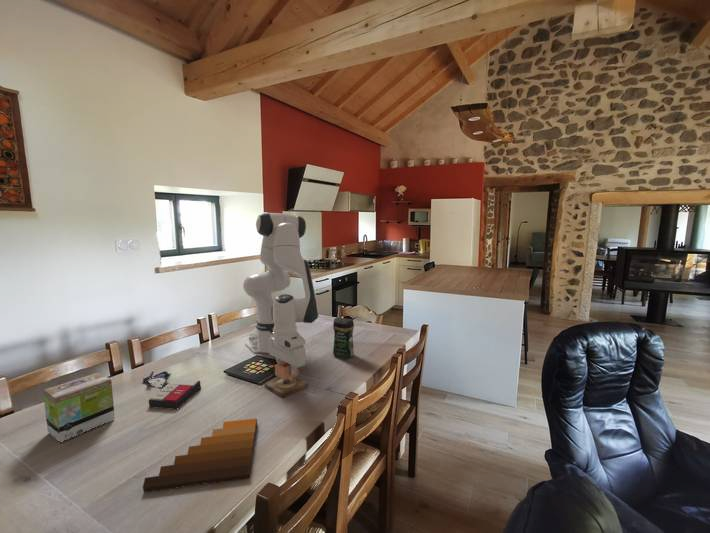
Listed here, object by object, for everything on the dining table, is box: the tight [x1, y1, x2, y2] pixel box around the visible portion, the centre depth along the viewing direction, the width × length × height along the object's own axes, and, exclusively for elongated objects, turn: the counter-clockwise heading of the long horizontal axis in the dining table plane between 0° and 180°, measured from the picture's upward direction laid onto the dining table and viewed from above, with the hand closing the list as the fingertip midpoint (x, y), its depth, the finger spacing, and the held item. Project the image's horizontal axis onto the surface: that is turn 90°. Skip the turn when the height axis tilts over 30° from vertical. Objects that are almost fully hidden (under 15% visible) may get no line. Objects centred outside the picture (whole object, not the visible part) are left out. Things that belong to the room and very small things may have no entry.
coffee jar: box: [332, 316, 355, 360], centre depth 169 cm, size 10×8×19 cm
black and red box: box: [148, 378, 202, 410], centre depth 132 cm, size 11×4×15 cm
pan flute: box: [142, 418, 258, 493], centre depth 101 cm, size 25×3×25 cm
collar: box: [274, 361, 299, 380], centre depth 139 cm, size 6×6×4 cm
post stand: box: [264, 376, 309, 399], centre depth 139 cm, size 12×12×8 cm
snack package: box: [142, 371, 172, 389], centre depth 144 cm, size 12×6×12 cm
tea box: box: [42, 372, 116, 443], centre depth 113 cm, size 15×10×15 cm
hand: (286, 370), depth 139 cm, fingers closed on collar, 6 cm apart
